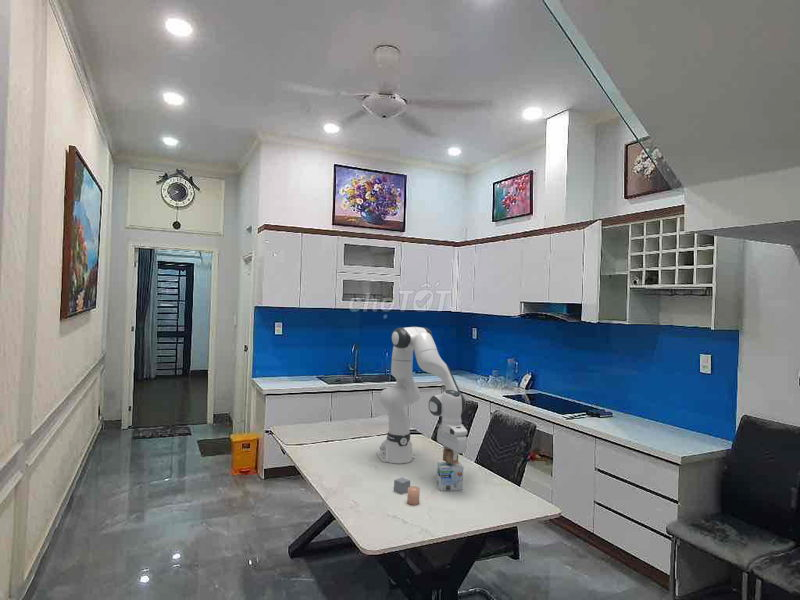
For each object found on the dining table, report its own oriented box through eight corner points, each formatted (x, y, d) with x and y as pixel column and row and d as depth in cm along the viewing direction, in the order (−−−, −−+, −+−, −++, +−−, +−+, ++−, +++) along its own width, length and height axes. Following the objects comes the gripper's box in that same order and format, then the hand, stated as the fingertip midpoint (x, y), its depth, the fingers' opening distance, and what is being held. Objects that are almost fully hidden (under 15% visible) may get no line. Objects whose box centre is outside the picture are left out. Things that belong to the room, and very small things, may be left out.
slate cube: (393, 491, 223) (394, 479, 223) (401, 488, 226) (402, 477, 226) (402, 494, 219) (402, 483, 219) (409, 491, 223) (410, 480, 223)
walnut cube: (442, 460, 230) (443, 449, 230) (452, 458, 232) (452, 447, 232) (448, 463, 225) (448, 452, 225) (458, 462, 227) (458, 451, 227)
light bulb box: (440, 491, 224) (441, 467, 224) (436, 485, 231) (436, 462, 231) (463, 490, 226) (464, 466, 226) (458, 484, 233) (459, 461, 233)
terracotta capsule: (405, 501, 212) (405, 487, 212) (415, 499, 214) (416, 485, 214) (410, 506, 207) (411, 491, 207) (421, 504, 209) (421, 489, 209)
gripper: (434, 422, 236) (433, 451, 236) (457, 433, 218) (456, 465, 218) (445, 421, 239) (444, 450, 239) (469, 432, 221) (468, 463, 221)
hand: (450, 457), depth 228 cm, fingers closed on walnut cube, 5 cm apart
